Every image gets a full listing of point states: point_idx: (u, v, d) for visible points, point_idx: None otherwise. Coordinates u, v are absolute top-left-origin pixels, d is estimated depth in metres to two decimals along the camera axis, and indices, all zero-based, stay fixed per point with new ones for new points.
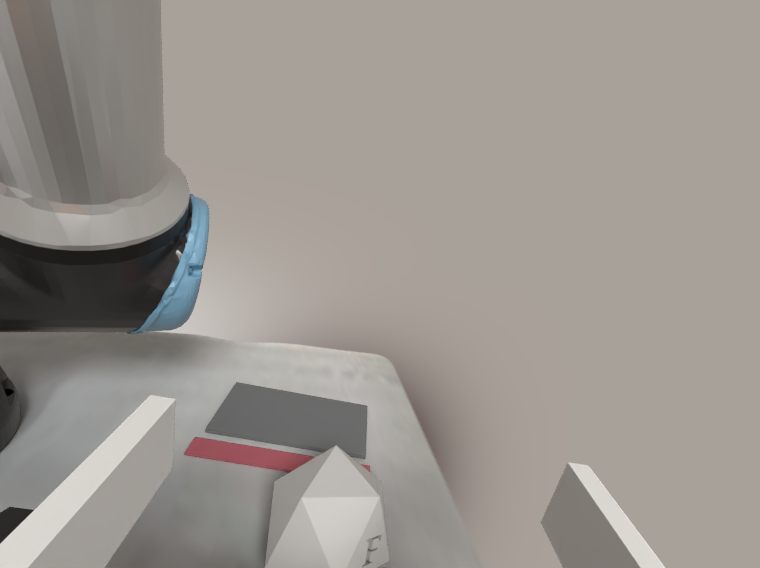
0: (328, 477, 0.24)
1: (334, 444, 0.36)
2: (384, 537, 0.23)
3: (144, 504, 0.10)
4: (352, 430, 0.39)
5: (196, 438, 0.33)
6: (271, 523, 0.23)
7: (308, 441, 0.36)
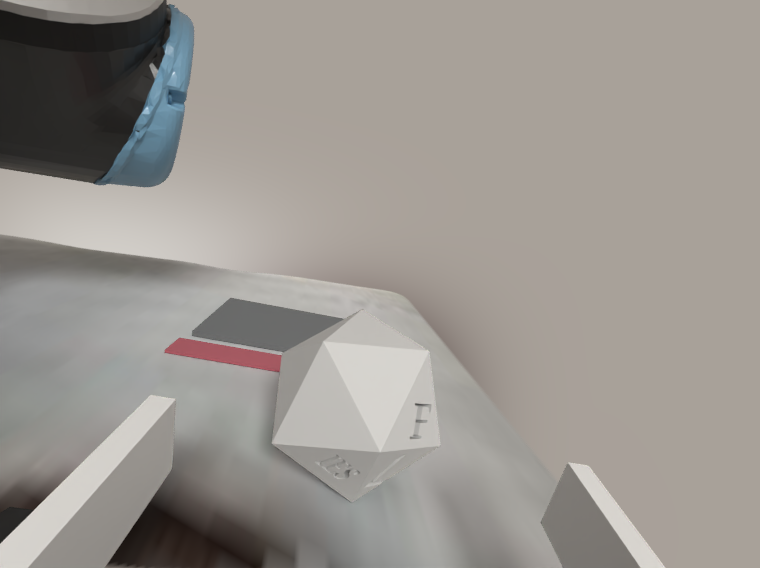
0: (357, 330, 0.17)
1: None
2: (434, 410, 0.17)
3: (144, 504, 0.10)
4: None
5: (181, 339, 0.27)
6: (279, 393, 0.17)
7: None
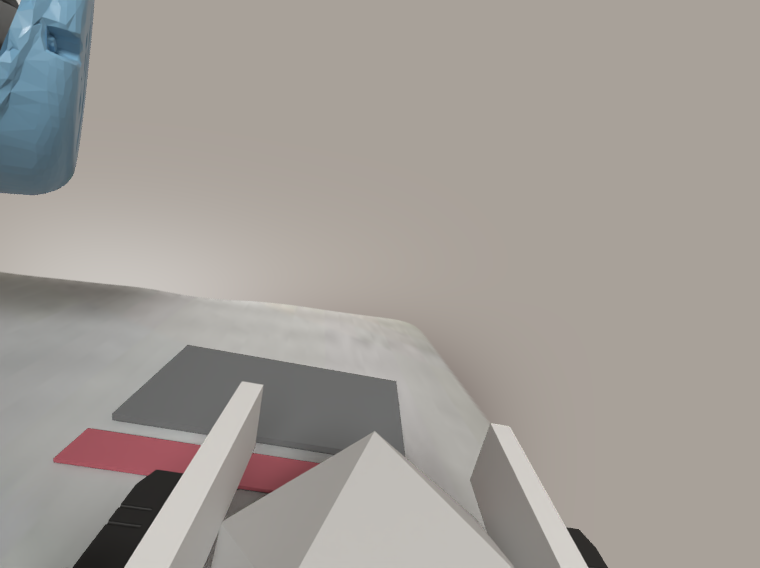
0: (365, 518, 0.08)
1: (349, 440, 0.20)
2: None
3: (241, 475, 0.12)
4: (377, 416, 0.23)
5: (90, 431, 0.18)
6: None
7: (303, 435, 0.20)
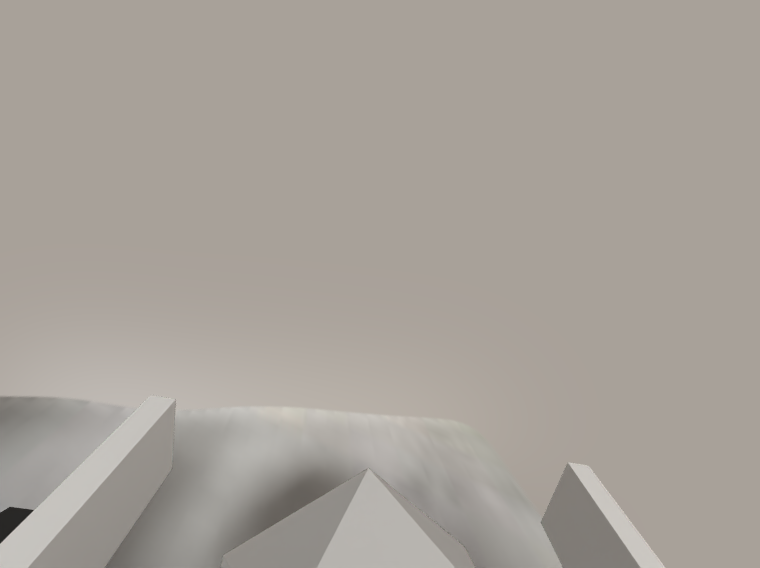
0: (357, 561, 0.09)
1: None
2: None
3: (144, 504, 0.10)
4: None
5: None
6: None
7: None
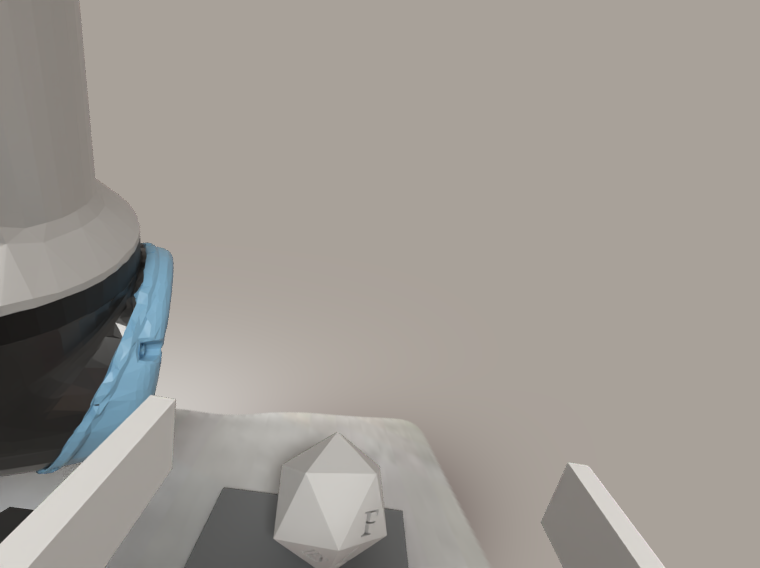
0: (330, 457, 0.26)
1: None
2: (381, 512, 0.26)
3: (144, 504, 0.10)
4: (387, 561, 0.27)
5: None
6: (279, 500, 0.26)
7: None
